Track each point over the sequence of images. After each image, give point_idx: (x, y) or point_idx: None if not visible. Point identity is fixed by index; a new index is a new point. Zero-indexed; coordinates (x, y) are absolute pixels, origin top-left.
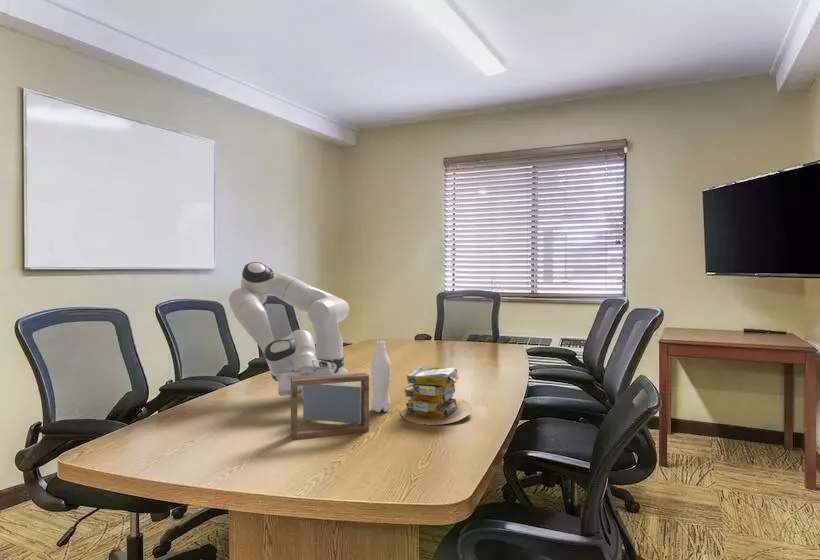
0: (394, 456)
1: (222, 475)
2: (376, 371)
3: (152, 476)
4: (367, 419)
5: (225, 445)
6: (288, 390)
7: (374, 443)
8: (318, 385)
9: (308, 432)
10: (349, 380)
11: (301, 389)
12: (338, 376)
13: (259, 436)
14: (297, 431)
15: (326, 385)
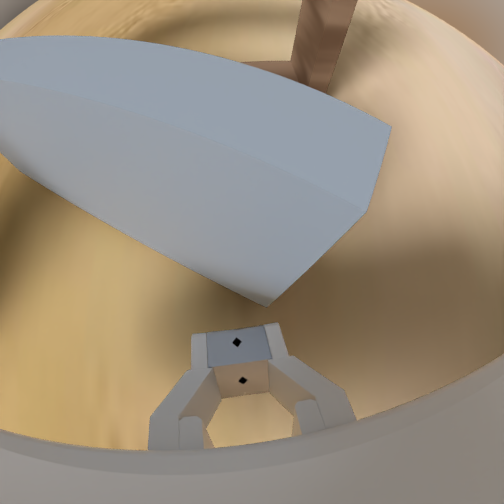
0: (82, 10)
1: (388, 3)
2: None
3: (475, 45)
4: None
5: (467, 104)
6: (489, 362)
7: None
8: (110, 49)
9: (247, 63)
10: None
11: (363, 418)
12: None
13: (423, 132)
14: (293, 78)
15: (41, 41)
